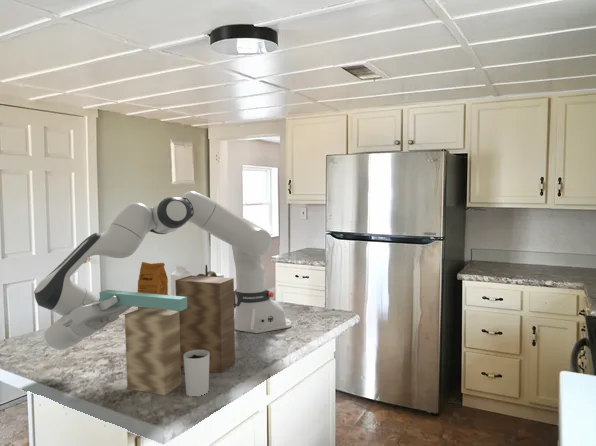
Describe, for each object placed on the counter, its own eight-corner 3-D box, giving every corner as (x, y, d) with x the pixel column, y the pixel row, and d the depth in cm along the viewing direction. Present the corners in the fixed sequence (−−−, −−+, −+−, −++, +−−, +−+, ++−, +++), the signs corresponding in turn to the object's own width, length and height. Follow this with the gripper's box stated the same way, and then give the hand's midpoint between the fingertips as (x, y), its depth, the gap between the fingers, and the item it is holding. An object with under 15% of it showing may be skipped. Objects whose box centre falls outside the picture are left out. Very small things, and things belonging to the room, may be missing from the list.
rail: (99, 302, 124) (99, 292, 124) (107, 300, 127) (107, 289, 126) (180, 311, 115) (180, 299, 115) (187, 308, 118) (186, 296, 117)
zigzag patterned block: (127, 388, 120) (124, 314, 119) (144, 378, 127) (142, 307, 125) (165, 395, 116) (162, 318, 115) (181, 384, 122) (179, 311, 121)
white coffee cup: (179, 395, 116) (178, 356, 115) (193, 384, 122) (193, 348, 121) (201, 399, 114) (200, 360, 113) (215, 388, 120) (214, 351, 119)
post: (177, 366, 135) (175, 280, 133) (192, 357, 143) (190, 275, 141) (221, 372, 130) (220, 283, 128) (235, 362, 138) (233, 278, 136)
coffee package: (147, 308, 203) (146, 260, 202) (171, 310, 200) (170, 261, 198) (133, 314, 194) (131, 263, 193) (158, 316, 190) (156, 264, 189)
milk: (183, 316, 190) (182, 264, 188) (193, 319, 186) (192, 265, 185) (171, 320, 185) (170, 266, 183) (181, 322, 181) (180, 267, 180)
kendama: (195, 311, 198) (194, 265, 197) (207, 305, 207) (206, 262, 206) (207, 312, 196) (206, 266, 195) (218, 306, 205) (217, 263, 204)
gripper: (53, 317, 118) (88, 294, 113) (111, 299, 137) (143, 279, 133) (63, 338, 117) (99, 316, 113) (120, 318, 136) (152, 298, 132)
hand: (123, 296), depth 123 cm, fingers closed on rail, 3 cm apart
